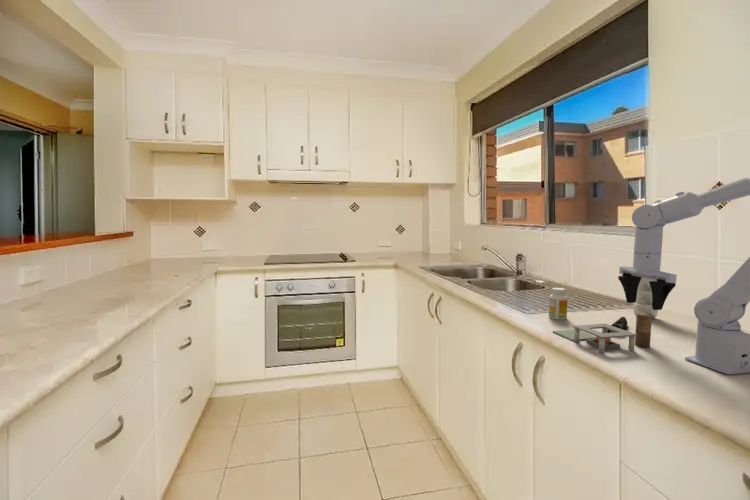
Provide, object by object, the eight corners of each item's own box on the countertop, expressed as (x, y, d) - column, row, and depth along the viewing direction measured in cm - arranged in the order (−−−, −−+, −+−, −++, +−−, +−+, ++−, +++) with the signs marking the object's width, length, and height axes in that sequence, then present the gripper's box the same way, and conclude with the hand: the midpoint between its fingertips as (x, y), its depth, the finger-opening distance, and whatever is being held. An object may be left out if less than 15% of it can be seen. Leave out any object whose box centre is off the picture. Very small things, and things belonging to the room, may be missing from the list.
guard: (636, 351, 96) (637, 334, 96) (601, 353, 94) (602, 337, 93) (604, 338, 106) (605, 323, 105) (572, 341, 104) (573, 325, 103)
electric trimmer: (630, 327, 118) (631, 317, 118) (621, 338, 107) (622, 327, 106) (616, 325, 121) (616, 315, 121) (605, 335, 109) (606, 324, 109)
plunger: (613, 343, 98) (613, 335, 98) (602, 344, 98) (603, 336, 98) (603, 339, 102) (604, 332, 101) (593, 340, 101) (593, 333, 101)
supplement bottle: (567, 317, 128) (568, 288, 128) (565, 320, 124) (567, 290, 123) (549, 314, 131) (550, 286, 130) (547, 318, 127) (548, 289, 126)
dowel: (653, 347, 99) (655, 316, 98) (642, 348, 98) (644, 317, 97) (642, 343, 102) (643, 313, 101) (631, 344, 101) (633, 314, 100)
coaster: (598, 339, 105) (598, 337, 105) (572, 341, 104) (572, 339, 104) (577, 330, 113) (577, 329, 113) (552, 332, 111) (553, 330, 111)
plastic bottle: (662, 320, 124) (665, 258, 122) (638, 320, 125) (642, 258, 123) (650, 315, 130) (654, 256, 128) (628, 315, 131) (632, 256, 129)
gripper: (610, 250, 104) (607, 300, 105) (660, 256, 90) (656, 313, 91) (633, 250, 106) (629, 299, 107) (685, 256, 91) (680, 312, 93)
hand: (643, 305), depth 99 cm, fingers open, 7 cm apart
